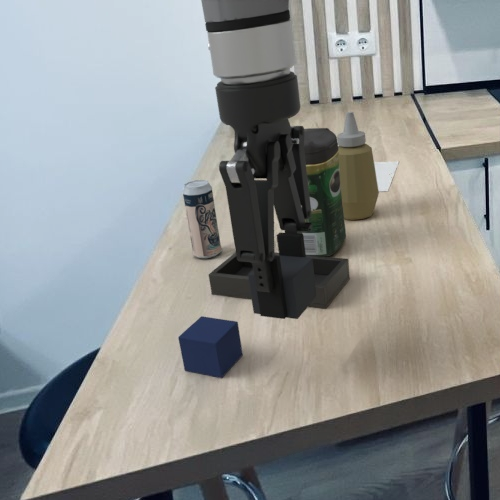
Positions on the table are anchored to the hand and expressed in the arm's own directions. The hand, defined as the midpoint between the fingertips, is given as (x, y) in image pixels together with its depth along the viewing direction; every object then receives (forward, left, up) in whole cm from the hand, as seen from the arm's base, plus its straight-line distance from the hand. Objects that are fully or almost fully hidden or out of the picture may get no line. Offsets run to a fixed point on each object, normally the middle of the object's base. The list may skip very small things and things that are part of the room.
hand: (285, 302), depth 68 cm
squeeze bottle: (+10, -49, -9) cm, 50 cm away
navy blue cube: (+10, 0, -9) cm, 14 cm away
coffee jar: (+11, -34, -9) cm, 37 cm away
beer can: (+28, -28, -9) cm, 40 cm away
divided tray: (+11, -20, -9) cm, 24 cm away
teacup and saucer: (+20, -70, -9) cm, 73 cm away
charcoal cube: (0, 0, 0) cm, 0 cm away
